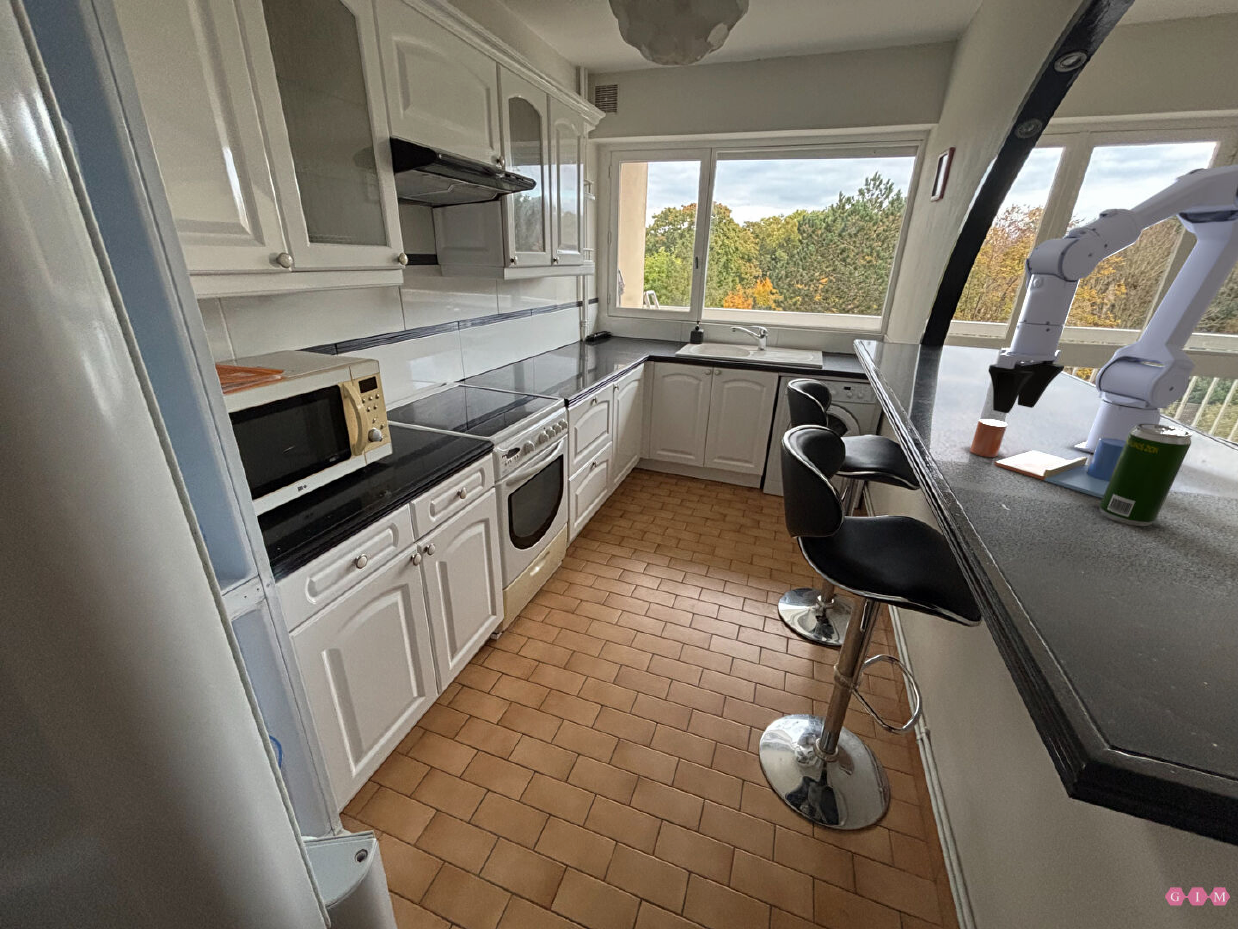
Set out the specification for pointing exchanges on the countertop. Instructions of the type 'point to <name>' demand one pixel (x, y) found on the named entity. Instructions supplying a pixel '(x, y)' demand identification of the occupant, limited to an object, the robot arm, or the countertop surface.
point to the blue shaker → (1105, 458)
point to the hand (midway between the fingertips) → (1013, 408)
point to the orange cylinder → (988, 437)
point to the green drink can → (1144, 473)
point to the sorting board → (1056, 471)
